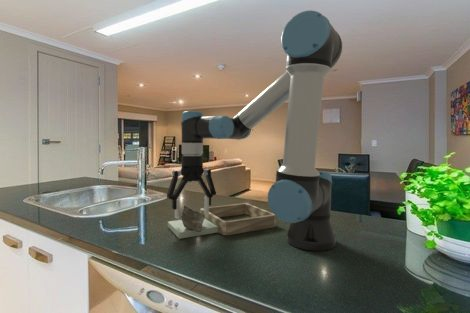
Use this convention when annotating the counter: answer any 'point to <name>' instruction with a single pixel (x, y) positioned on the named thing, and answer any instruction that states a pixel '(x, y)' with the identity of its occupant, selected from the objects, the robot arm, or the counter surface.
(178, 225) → the ledge
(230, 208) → the wooden tray
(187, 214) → the rock
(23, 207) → the counter surface
